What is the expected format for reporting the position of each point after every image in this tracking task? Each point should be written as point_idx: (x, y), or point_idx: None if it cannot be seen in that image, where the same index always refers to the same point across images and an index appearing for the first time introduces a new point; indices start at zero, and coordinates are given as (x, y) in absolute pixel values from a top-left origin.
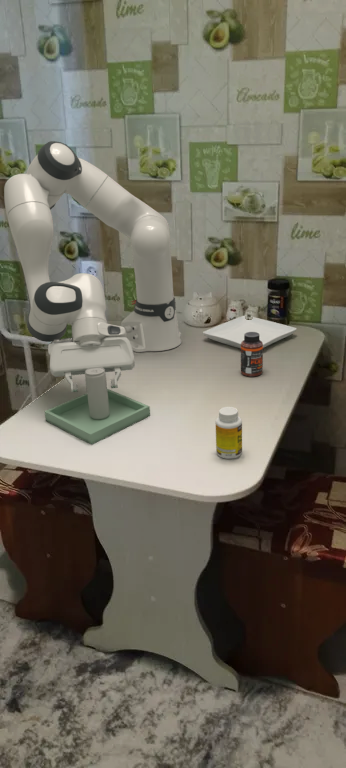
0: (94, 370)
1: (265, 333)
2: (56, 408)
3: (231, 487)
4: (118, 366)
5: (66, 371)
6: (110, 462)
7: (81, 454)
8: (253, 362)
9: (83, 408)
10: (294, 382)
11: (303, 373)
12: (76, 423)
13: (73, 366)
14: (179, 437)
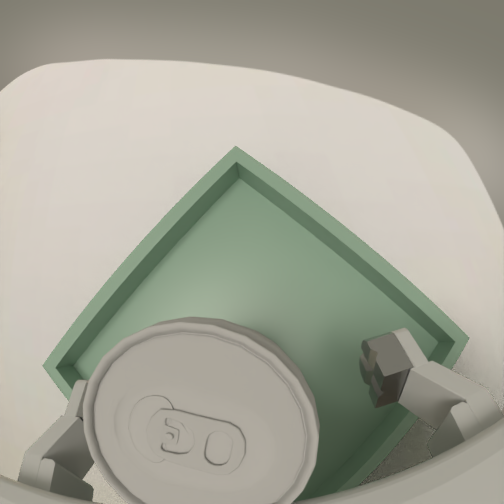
0: (198, 452)
1: None
2: None
3: (10, 86)
4: (17, 482)
5: (500, 420)
6: (174, 95)
7: (260, 120)
8: None
9: (328, 436)
10: None
11: None
12: (330, 304)
13: (469, 474)
14: (13, 221)
